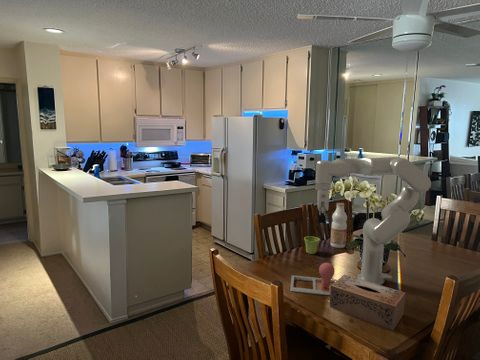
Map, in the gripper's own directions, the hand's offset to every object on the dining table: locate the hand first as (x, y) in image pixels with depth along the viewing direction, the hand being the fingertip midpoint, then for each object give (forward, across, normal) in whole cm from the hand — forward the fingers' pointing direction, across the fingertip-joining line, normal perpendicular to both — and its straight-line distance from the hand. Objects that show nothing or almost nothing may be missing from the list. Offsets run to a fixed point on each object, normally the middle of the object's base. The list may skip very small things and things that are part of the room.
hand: (321, 220), depth 168 cm
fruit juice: (+31, +52, -14) cm, 62 cm away
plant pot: (+31, +36, +3) cm, 47 cm away
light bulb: (+30, -10, -3) cm, 32 cm away
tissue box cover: (+31, -27, -19) cm, 45 cm away
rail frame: (+30, -10, +2) cm, 32 cm away
